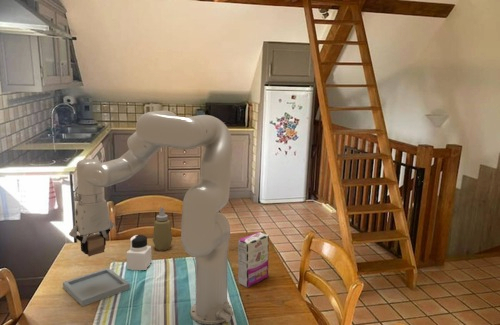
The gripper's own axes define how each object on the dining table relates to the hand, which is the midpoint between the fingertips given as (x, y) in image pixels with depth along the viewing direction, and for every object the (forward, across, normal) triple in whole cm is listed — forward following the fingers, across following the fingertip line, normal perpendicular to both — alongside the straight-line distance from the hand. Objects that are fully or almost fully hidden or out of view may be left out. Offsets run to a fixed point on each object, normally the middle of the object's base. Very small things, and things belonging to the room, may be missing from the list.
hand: (93, 249), depth 131 cm
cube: (+1, 0, 0) cm, 1 cm away
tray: (+14, 0, 0) cm, 14 cm away
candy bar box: (+14, +43, -32) cm, 56 cm away
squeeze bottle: (+14, +35, +14) cm, 40 cm away
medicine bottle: (+14, +19, +5) cm, 24 cm away
